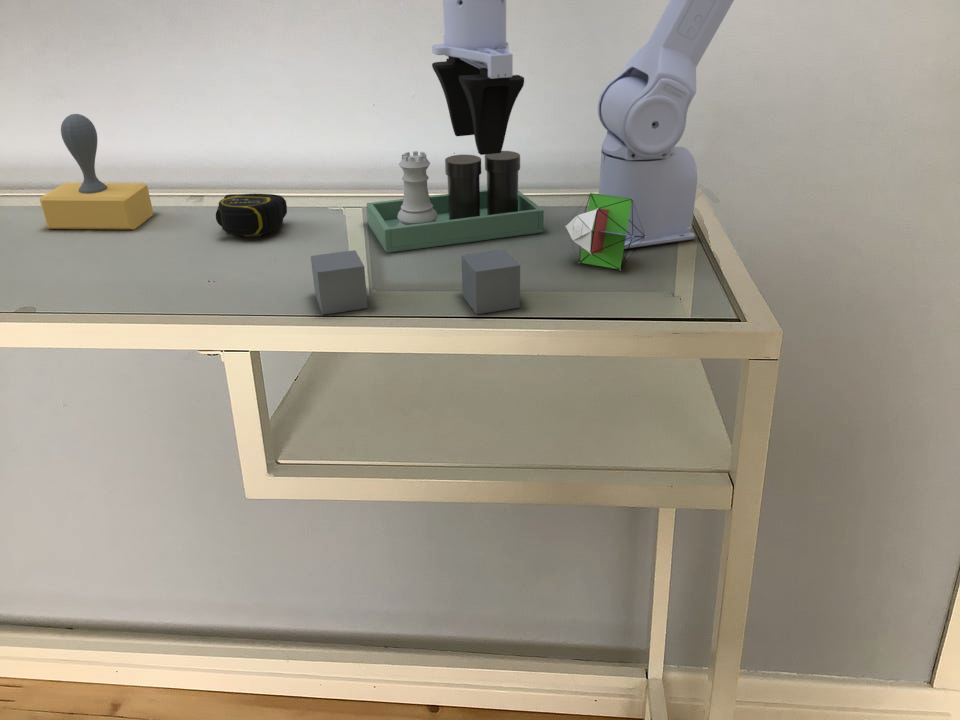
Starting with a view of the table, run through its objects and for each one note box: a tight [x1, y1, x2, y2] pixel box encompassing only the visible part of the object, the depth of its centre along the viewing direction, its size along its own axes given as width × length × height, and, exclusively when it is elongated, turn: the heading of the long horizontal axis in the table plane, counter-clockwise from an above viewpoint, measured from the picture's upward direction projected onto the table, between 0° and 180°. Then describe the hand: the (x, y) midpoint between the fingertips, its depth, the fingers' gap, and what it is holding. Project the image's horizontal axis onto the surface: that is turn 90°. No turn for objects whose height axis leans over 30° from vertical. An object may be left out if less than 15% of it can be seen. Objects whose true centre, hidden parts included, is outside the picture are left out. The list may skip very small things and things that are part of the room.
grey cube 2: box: [461, 249, 521, 315], centre depth 71 cm, size 4×4×4 cm
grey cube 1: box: [310, 249, 369, 316], centre depth 71 cm, size 4×4×4 cm
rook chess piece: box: [397, 150, 438, 226], centre depth 85 cm, size 4×4×8 cm
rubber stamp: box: [39, 113, 154, 231], centre depth 90 cm, size 10×6×12 cm, turn 86°
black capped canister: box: [484, 150, 521, 215], centre depth 88 cm, size 4×4×7 cm
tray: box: [366, 188, 545, 254], centre depth 88 cm, size 17×9×2 cm, turn 108°
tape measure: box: [215, 193, 288, 238], centre depth 88 cm, size 7×7×4 cm
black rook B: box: [444, 154, 482, 220], centre depth 87 cm, size 4×4×7 cm
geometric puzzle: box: [564, 192, 646, 271], centre depth 78 cm, size 7×7×8 cm
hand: (477, 143), depth 79 cm, fingers open, 7 cm apart
